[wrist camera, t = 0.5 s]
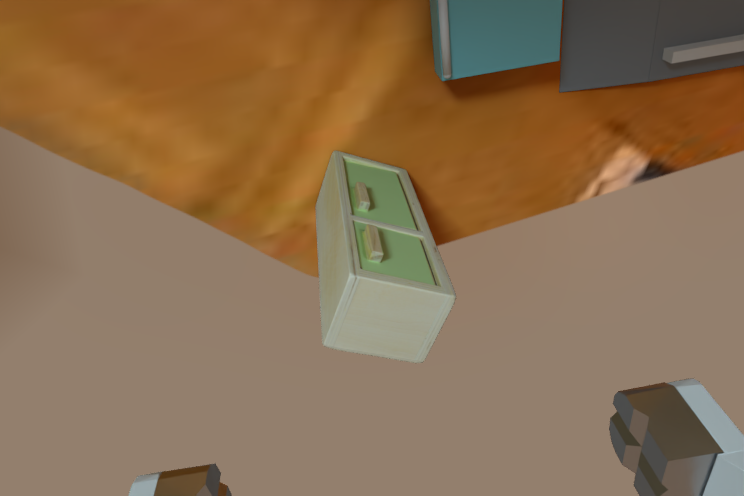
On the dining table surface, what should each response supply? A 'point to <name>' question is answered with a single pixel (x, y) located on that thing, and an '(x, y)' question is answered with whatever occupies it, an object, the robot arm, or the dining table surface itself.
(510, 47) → the teal handled box
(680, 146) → the dining table surface
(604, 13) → the loading dock
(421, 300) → the toy refrigerator
